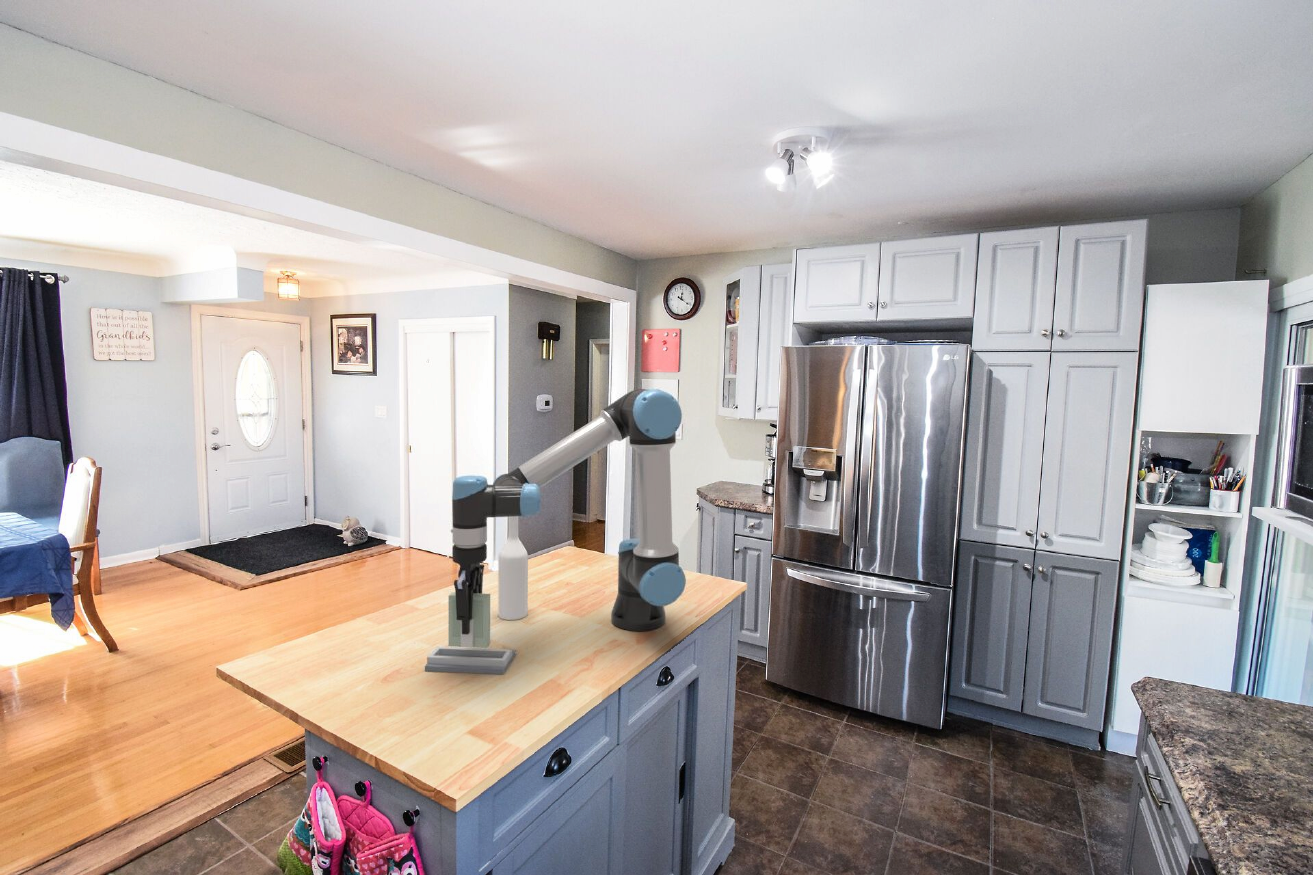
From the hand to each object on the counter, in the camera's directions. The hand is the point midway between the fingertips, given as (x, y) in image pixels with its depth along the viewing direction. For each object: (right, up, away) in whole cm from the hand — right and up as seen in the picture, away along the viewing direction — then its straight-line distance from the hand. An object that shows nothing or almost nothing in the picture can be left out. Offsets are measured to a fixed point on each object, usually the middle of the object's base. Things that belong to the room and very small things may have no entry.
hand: (469, 643), depth 139 cm
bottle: (+3, -3, +31) cm, 31 cm away
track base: (0, -5, +1) cm, 5 cm away
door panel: (0, -1, 0) cm, 1 cm away
